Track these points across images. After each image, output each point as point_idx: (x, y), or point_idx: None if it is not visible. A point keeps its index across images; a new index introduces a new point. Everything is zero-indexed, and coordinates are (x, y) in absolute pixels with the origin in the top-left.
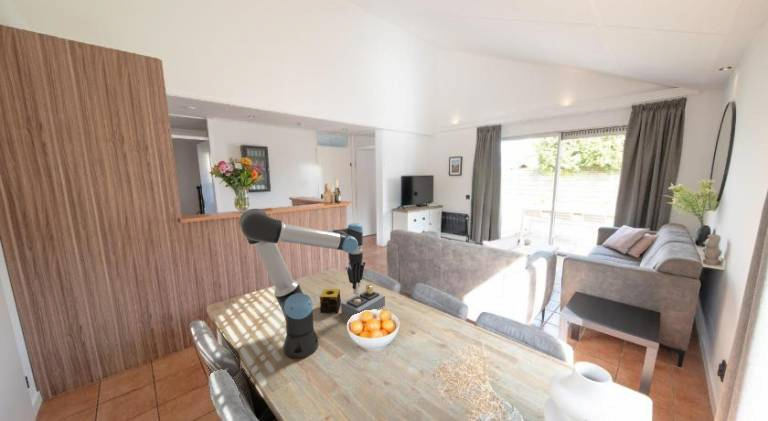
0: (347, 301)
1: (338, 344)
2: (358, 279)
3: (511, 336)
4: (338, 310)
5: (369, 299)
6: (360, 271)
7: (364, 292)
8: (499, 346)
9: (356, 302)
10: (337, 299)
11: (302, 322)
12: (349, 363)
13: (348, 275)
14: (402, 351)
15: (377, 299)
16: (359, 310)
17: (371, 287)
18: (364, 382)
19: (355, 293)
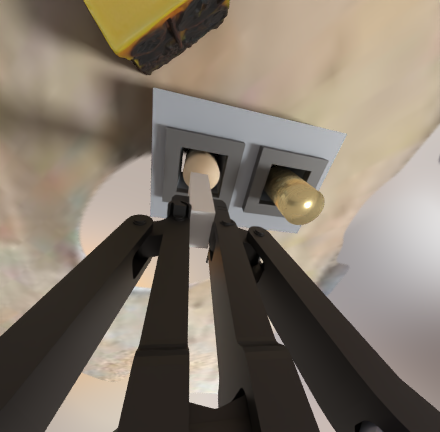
0: (167, 132)
1: (25, 211)
2: (210, 268)
3: None
4: (158, 67)
5: (243, 208)
6: (285, 318)
7: (293, 156)
8: None
9: (185, 182)
10: (140, 50)
11: None
12: (14, 269)
13: (53, 299)
14: (133, 313)
15: (263, 225)
16: (155, 215)
17: (292, 223)
18: (14, 309)
19: (188, 192)
